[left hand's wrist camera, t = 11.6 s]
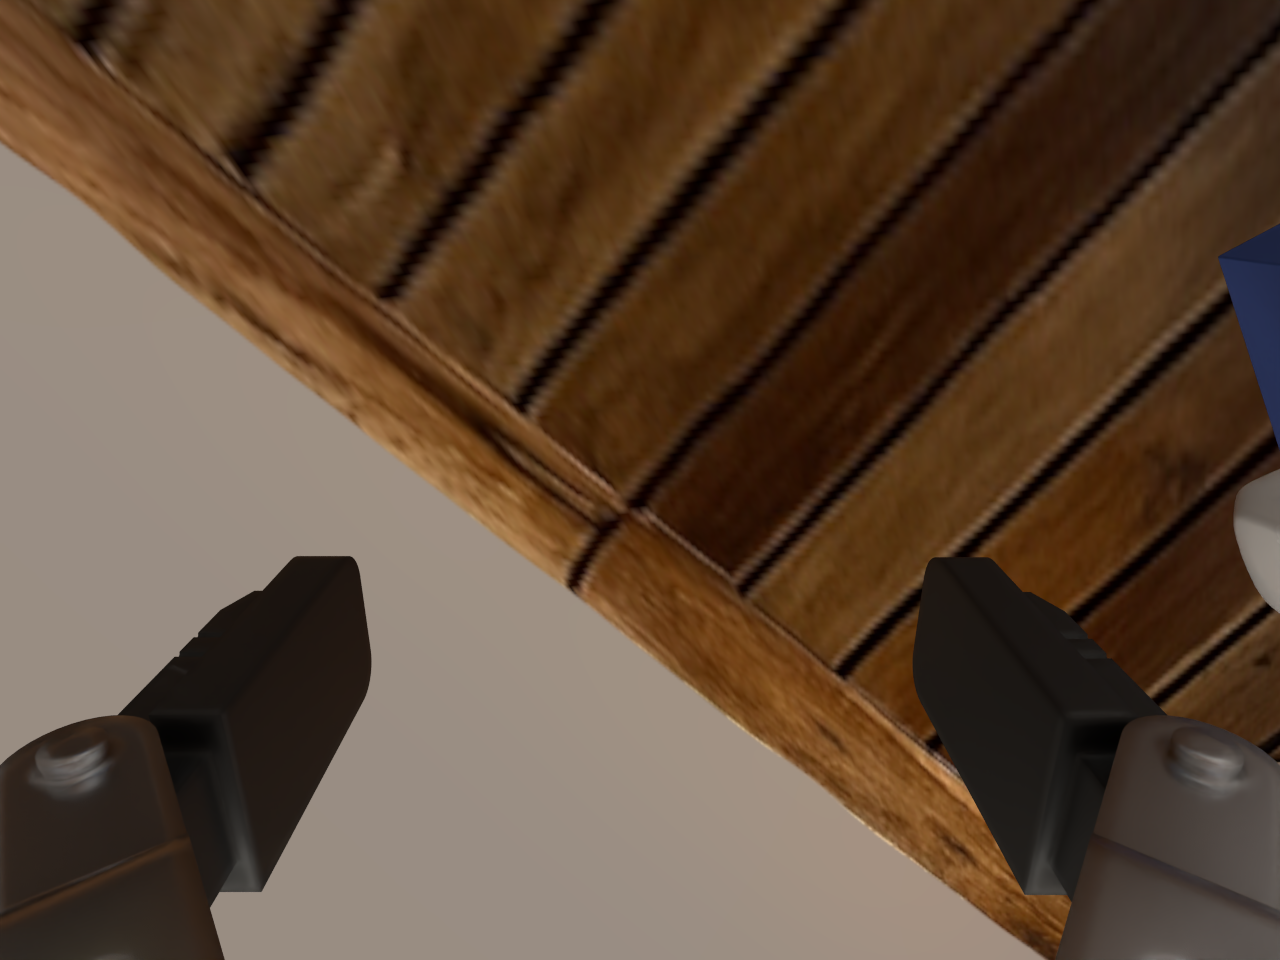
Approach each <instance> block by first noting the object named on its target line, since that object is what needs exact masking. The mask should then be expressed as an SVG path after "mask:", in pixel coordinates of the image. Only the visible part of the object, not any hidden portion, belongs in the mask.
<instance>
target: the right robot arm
mask: <svg viewBox="0 0 1280 960" xmlns="http://www.w3.org/2000/svg"><path fill="white" fill-rule="evenodd" d="M1234 530H1235V535H1236V539H1237V542H1238V545H1239V549H1240V552H1241V555H1242V558H1243V560H1244V563H1245V565H1246V568H1247V570H1248V572H1249V574H1250V577H1251V579H1252V581H1253V583H1254V585H1255V587H1256V588H1257V590H1258V591H1259V593H1260V594H1261V596H1262V597H1263V598H1264V600H1265V601H1266V602H1267V603H1268V604H1269V605H1270V606H1271V607H1272V608H1274V609H1275V610H1276V611H1277V612H1279V613H1280V469H1278V470H1276V471H1274V472H1271V473H1269V474H1267V475H1265V476H1262V477H1260V478H1258V479H1256V480H1254V481H1252V482H1250V483H1248V484H1247V485H1245V486H1244V487H1242V488H1241V489H1240V490H1239V492H1238V493H1237V495H1236V500H1235V505H1234Z"/></svg>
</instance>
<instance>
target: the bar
mask: <svg viewBox="0 0 1280 960" xmlns="http://www.w3.org/2000/svg"><path fill="white" fill-rule="evenodd" d="M1218 259H1219V262H1220V265H1221V268H1222V271H1223V274H1224V277H1225V280H1226V284H1227V287H1228V290H1229V293H1230V296H1231V299H1232V302H1233V305H1234V309H1235V312H1236V315H1237V318H1238V321H1239V324H1240V327H1241V330H1242V334H1243V337H1244V340H1245V343H1246V346H1247V349H1248V352H1249V356H1250V359H1251V362H1252V365H1253V368H1254V371H1255V374H1256V377H1257V381H1258V384H1259V387H1260V390H1261V393H1262V396H1263V399H1264V402H1265V406H1266V409H1267V412H1268V415H1269V418H1270V421H1271V424H1272V428H1273V431H1274V434H1275V437H1276V440H1277V443H1278V446H1279V449H1280V224H1278V225H1277V226H1275V227H1273V228H1271V229H1269V230H1267V231H1265V232H1263V233H1262V234H1260V235H1258V236H1256V237H1254V238H1252V239H1250V240H1248V241H1246V242H1245V243H1243V244H1241V245H1239V246H1237V247H1235V248H1233V249H1231V250H1229V251H1228V252H1226V253H1224V254H1222V255H1220V256H1219V257H1218Z"/></svg>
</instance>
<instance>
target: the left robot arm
mask: <svg viewBox="0 0 1280 960" xmlns="http://www.w3.org/2000/svg"><path fill="white" fill-rule="evenodd" d="M370 675H371V649H370V642H369V635H368V628H367V621H366V614H365V607H364V600H363V593H362V586H361V579H360V573H359V569H358V565H357V563H356V561H355V560H354V559H353V558H352V557H350V556H297V557H294V558H293V559H292V560H290V562H289V563H288V564H287V565H286V566H285V567H284V568H283V569H282V570H281V571H280V572H279V573H278V575H277V576H276V577H275V578H274V579H273V580H272V581H271V582H270V583H269V584H268V586H266V588H265V589H264V590H263V591H253V592H252V593H250V594H248V595H246V596H245V597H243V598H241V599H239V600H237V601H236V602H234V603H232V604H230V605H229V606H227V607H225V608H223V609H222V610H220V611H219V612H218V613H217V614H216V615H215V616H214V617H213V618H212V619H211V620H210V621H209V622H208V623H207V624H206V625H205V626H204V627H203V628H202V629H201V630H200V631H199V633H198V637H194V638H193V639H192V640H191V641H190V642H189V643H188V644H187V645H186V646H185V647H184V648H183V649H182V650H181V651H180V655H179V657H174V658H173V659H172V660H171V661H170V662H169V663H168V664H167V665H166V666H165V667H164V668H163V669H162V670H161V671H160V672H159V673H158V674H157V675H156V676H155V677H154V679H152V680H151V682H150V683H149V684H148V685H147V686H146V687H145V688H144V689H143V690H142V691H141V692H140V693H139V694H138V695H137V696H136V697H135V698H134V699H133V700H132V701H131V702H130V703H129V704H128V705H127V706H126V707H125V708H124V709H123V710H122V711H121V712H120V713H119V714H118V715H114V716H104V717H97V718H92V719H88V720H84V721H80V722H76V723H73V724H70V725H67V726H64V727H62V728H59V729H56V730H54V731H52V732H50V733H47V734H45V735H43V736H41V737H39V738H37V739H36V740H34V741H32V742H30V743H28V744H27V745H25V746H24V747H22V748H21V749H19V750H18V751H16V752H15V753H14V754H12V755H11V756H10V757H9V758H7V759H6V760H5V761H4V762H3V763H2V764H1V765H0V960H225V959H224V956H223V952H222V949H221V945H220V942H219V938H218V935H217V931H216V928H215V925H214V921H213V918H212V914H211V911H210V907H211V905H212V903H213V902H214V900H215V898H216V897H217V895H218V893H219V892H261V891H262V890H263V888H264V886H265V884H266V882H267V880H268V878H269V877H270V875H271V873H272V871H273V869H274V867H275V865H276V864H277V862H278V860H279V858H280V856H281V854H282V852H283V850H284V849H285V847H286V845H287V843H288V841H289V839H290V837H291V835H292V833H293V832H294V830H295V828H296V826H297V824H298V822H299V820H300V819H301V817H302V815H303V813H304V811H305V809H306V807H307V805H308V804H309V802H310V800H311V798H312V796H313V794H314V792H315V790H316V789H317V787H318V785H319V783H320V781H321V779H322V777H323V775H324V774H325V772H326V770H327V768H328V766H329V764H330V762H331V760H332V758H333V757H334V755H335V753H336V751H337V749H338V747H339V745H340V743H341V742H342V740H343V738H344V736H345V734H346V732H347V730H348V729H349V727H350V725H351V723H352V721H353V719H354V717H355V715H356V714H357V712H358V710H359V708H360V706H361V704H362V702H363V700H364V698H365V696H366V693H367V690H368V686H369V682H370ZM913 676H914V682H915V687H916V691H917V694H918V697H919V699H920V701H921V703H922V705H923V707H924V709H925V711H926V713H927V715H928V716H929V718H930V720H931V722H932V724H933V726H934V727H935V729H936V731H937V733H938V735H939V737H940V739H941V740H942V742H943V744H944V746H945V748H946V750H947V752H948V753H949V755H950V757H951V759H952V761H953V763H954V765H955V766H956V768H957V770H958V772H959V774H960V776H961V777H962V779H963V781H964V783H965V785H966V787H967V789H968V790H969V792H970V794H971V796H972V798H973V800H974V802H975V803H976V805H977V807H978V809H979V811H980V813H981V815H982V816H983V818H984V820H985V822H986V824H987V826H988V828H989V829H990V831H991V833H992V835H993V837H994V839H995V840H996V842H997V844H998V846H999V848H1000V850H1001V852H1002V853H1003V855H1004V857H1005V859H1006V861H1007V863H1008V865H1009V866H1010V868H1011V870H1012V872H1013V874H1014V876H1015V878H1016V879H1017V881H1018V883H1019V885H1020V887H1021V889H1022V891H1023V892H1024V894H1025V895H1068V897H1069V898H1070V900H1071V902H1072V904H1071V907H1070V911H1069V914H1068V918H1067V921H1066V925H1065V928H1064V931H1063V935H1062V938H1061V942H1060V945H1059V949H1058V952H1057V956H1056V959H1055V960H1280V765H1279V764H1278V763H1277V762H1276V761H1275V760H1274V759H1273V758H1272V757H1270V756H1269V755H1268V754H1266V753H1265V752H1264V751H1262V750H1261V749H1259V748H1258V747H1256V746H1255V745H1253V744H1252V743H1250V742H1248V741H1246V740H1245V739H1243V738H1241V737H1239V736H1237V735H1235V734H1233V733H1230V732H1228V731H1226V730H1224V729H1221V728H1218V727H1216V726H1213V725H1210V724H1207V723H1204V722H1200V721H1197V720H1193V719H1188V718H1183V717H1176V716H1168V715H1167V714H1166V713H1165V712H1164V711H1163V710H1162V709H1161V708H1160V707H1159V706H1158V705H1157V704H1156V703H1155V702H1154V701H1153V700H1152V699H1151V698H1150V697H1149V696H1148V695H1147V694H1146V693H1145V692H1144V691H1143V690H1142V689H1141V688H1140V687H1139V686H1138V685H1137V684H1136V683H1135V682H1134V681H1133V680H1132V679H1131V678H1130V677H1129V676H1128V675H1127V674H1126V673H1125V672H1124V671H1123V670H1122V669H1121V668H1120V667H1119V666H1118V665H1117V664H1116V663H1115V662H1114V661H1113V660H1112V659H1107V657H1106V653H1105V652H1104V651H1103V650H1102V649H1101V648H1100V647H1099V646H1098V645H1097V644H1096V643H1095V642H1094V641H1093V640H1092V639H1088V638H1087V634H1086V633H1085V631H1084V630H1083V629H1082V628H1081V627H1080V626H1079V625H1078V624H1077V623H1076V622H1075V621H1074V620H1073V619H1072V618H1071V617H1070V616H1069V615H1068V614H1067V613H1066V612H1065V611H1063V610H1061V609H1059V608H1058V607H1056V606H1054V605H1052V604H1050V603H1049V602H1047V601H1045V600H1043V599H1042V598H1040V597H1038V596H1036V595H1035V594H1033V593H1031V592H1022V591H1021V590H1020V589H1019V588H1018V587H1017V586H1016V584H1015V583H1014V582H1013V581H1012V580H1011V579H1010V578H1009V577H1008V576H1007V575H1006V574H1005V573H1004V572H1003V571H1002V569H1001V568H1000V567H999V566H998V565H997V564H996V563H995V562H994V561H993V560H992V559H990V558H986V557H935V558H932V559H931V560H930V561H929V563H928V565H927V567H926V571H925V576H924V582H923V589H922V596H921V603H920V610H919V617H918V624H917V631H916V638H915V645H914V652H913Z"/></svg>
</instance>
